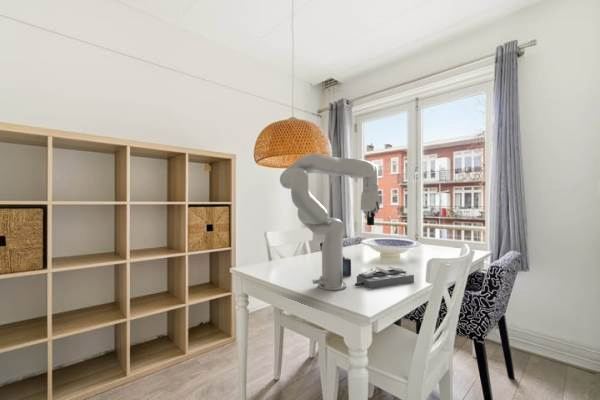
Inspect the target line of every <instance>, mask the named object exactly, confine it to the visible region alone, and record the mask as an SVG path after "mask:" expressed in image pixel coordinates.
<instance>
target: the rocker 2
mask: <svg viewBox="0 0 600 400" xmlns="http://www.w3.org/2000/svg"><path fill="white" fill-rule="evenodd" d="M375 270H376V271H381V272H384V273H386V274H387V273H390V272H389V271H386V270H387V269H384V268H382V267H378V266H375Z"/></svg>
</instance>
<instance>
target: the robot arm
mask: <svg viewBox="0 0 600 400" xmlns="http://www.w3.org/2000/svg"><path fill="white" fill-rule="evenodd" d="M309 174H319V175H326V176H327V175H328V176H332V177H333V176H334V177H340V176H341V177H342V176H348V177H349V178H351V179H362V191H361V195H360V196H361V198H360V210H361V211H362V213H363V214H365V216H366V225H367V226H374V225H375V217H376V215H377V214H379V210H380V206H381V205H380V204H381V203H380V195H379V178H378V177H379V170H378V165H377V164H375V163H372V162H371V161H368V160H364V159H358V158H348V157H347V158H345V157H336V156H330V155H325V154H319V153H310V154H309V153H308V154H307V155H303V156H301V157H299V158H298V159H297V160H296V161H294V162H293V163H292V164H291V165H290V166H288V167H287V168H286V169H285V170H283V172H282V173H281V175H280V176H279V183H280V185H281V186H282V187H283V188H285V189H288V190H290V195H291V196H290V197H291V202H292V203H293V205H294V206H295V207H296V208H297V217H298V219H299V221H300V222H301V223H302V224H303V225H304V226H305V227H306V228H307V229H308V230H309V231H311V233H313V234H314V235H315V236H318V237H322V238H323V241H322V245H321V275H320V276H319V278H316V279H312V281H311V282H312V284H313V285H316V284H317V285H318V287H319V288H320V289H323V290H326V291H340V290H341V291H342V290H344V289H346V287H347V283H346V282H344V276H343V257H344V254H343V250H344V249H343V245H344V244H343V243H344V242H343V241H344V235H345V230H346V229H345V224H344V223H343V221H342V220H341V219H339V218H336V217H328V216H329V213H328V211H327V208H326V207H325V206H323V204H321V202H320V201H318V199H316V197H315V196H314V195H313V194H312V193H311V191H310V175H309Z"/></svg>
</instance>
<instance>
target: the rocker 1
mask: <svg viewBox="0 0 600 400" xmlns="http://www.w3.org/2000/svg"><path fill="white" fill-rule="evenodd" d="M376 272H377V269H376V268H368V269H366V270H364V271H362V272H361V274H362V275H364V276H370V275H372V274H374V273H376Z"/></svg>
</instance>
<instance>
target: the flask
mask: <svg viewBox="0 0 600 400" xmlns="http://www.w3.org/2000/svg"><path fill="white" fill-rule="evenodd" d="M343 277H352V260H351V258H349V257H345V256H343Z"/></svg>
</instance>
